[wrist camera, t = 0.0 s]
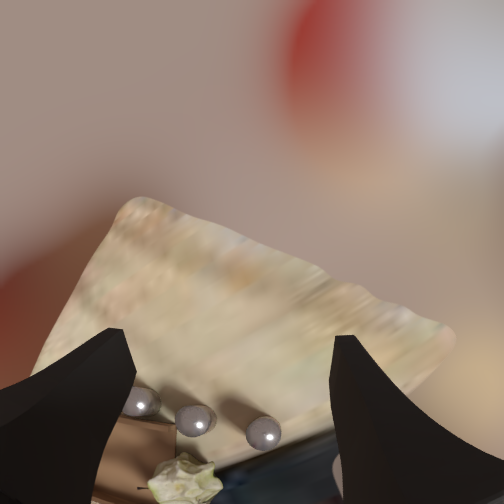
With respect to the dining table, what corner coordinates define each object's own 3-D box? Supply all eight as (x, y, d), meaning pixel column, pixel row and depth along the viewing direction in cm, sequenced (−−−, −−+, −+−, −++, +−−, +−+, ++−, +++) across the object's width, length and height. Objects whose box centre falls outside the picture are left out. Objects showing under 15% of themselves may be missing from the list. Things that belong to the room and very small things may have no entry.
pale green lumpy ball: (155, 493, 33) (128, 499, 26) (176, 441, 37) (151, 439, 31) (215, 519, 30) (196, 533, 23) (236, 465, 34) (222, 469, 28)
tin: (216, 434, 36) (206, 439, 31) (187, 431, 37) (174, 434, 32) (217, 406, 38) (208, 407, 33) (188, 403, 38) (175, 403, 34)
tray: (174, 514, 31) (166, 522, 27) (90, 491, 32) (78, 495, 29) (176, 424, 37) (168, 426, 34) (92, 408, 38) (79, 407, 35)
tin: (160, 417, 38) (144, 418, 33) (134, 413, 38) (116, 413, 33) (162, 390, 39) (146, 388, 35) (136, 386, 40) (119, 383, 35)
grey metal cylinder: (280, 444, 35) (280, 450, 30) (249, 443, 35) (245, 449, 30) (281, 416, 37) (281, 418, 32) (250, 415, 37) (246, 417, 32)
